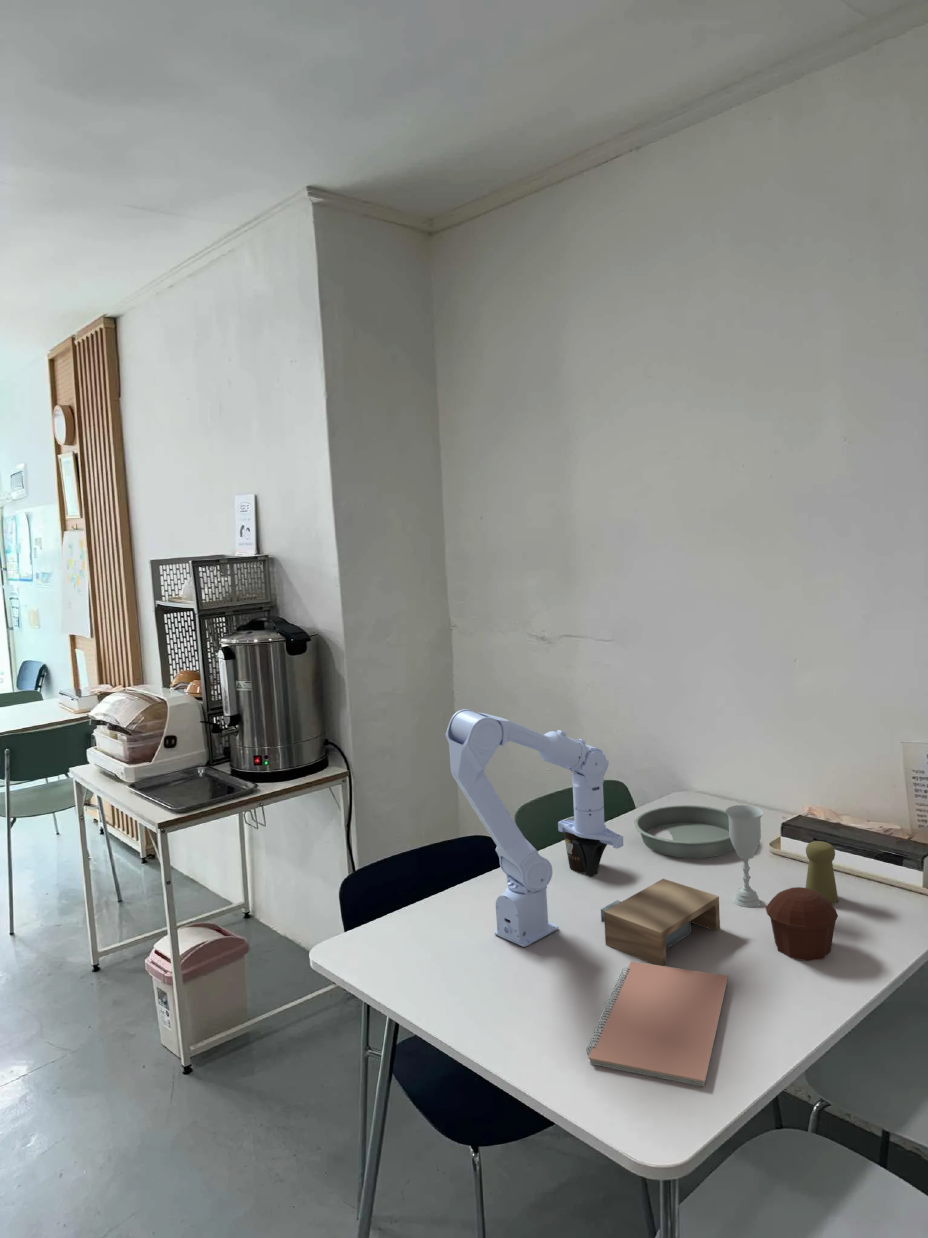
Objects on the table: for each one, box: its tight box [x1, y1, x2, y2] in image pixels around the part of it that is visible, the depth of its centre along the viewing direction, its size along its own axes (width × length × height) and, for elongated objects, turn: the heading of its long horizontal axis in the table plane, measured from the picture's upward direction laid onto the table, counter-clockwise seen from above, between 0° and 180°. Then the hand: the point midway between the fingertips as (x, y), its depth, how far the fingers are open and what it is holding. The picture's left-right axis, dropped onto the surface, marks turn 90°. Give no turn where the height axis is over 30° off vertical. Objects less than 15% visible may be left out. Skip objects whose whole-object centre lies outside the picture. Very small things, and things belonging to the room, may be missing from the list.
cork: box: [805, 840, 839, 906], centre depth 163 cm, size 6×6×11 cm
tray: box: [600, 899, 692, 950], centre depth 156 cm, size 9×15×4 cm, turn 42°
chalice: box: [725, 804, 764, 908], centre depth 163 cm, size 7×7×18 cm
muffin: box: [765, 886, 839, 962], centre depth 145 cm, size 12×11×10 cm
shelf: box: [603, 878, 721, 967], centre depth 152 cm, size 18×12×6 cm, turn 132°
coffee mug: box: [563, 816, 585, 874], centre depth 187 cm, size 12×9×10 cm
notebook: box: [585, 961, 729, 1088], centre depth 128 cm, size 27×17×2 cm, turn 157°
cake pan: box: [633, 804, 735, 859], centre depth 197 cm, size 25×25×4 cm
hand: (591, 874), depth 164 cm, fingers closed
